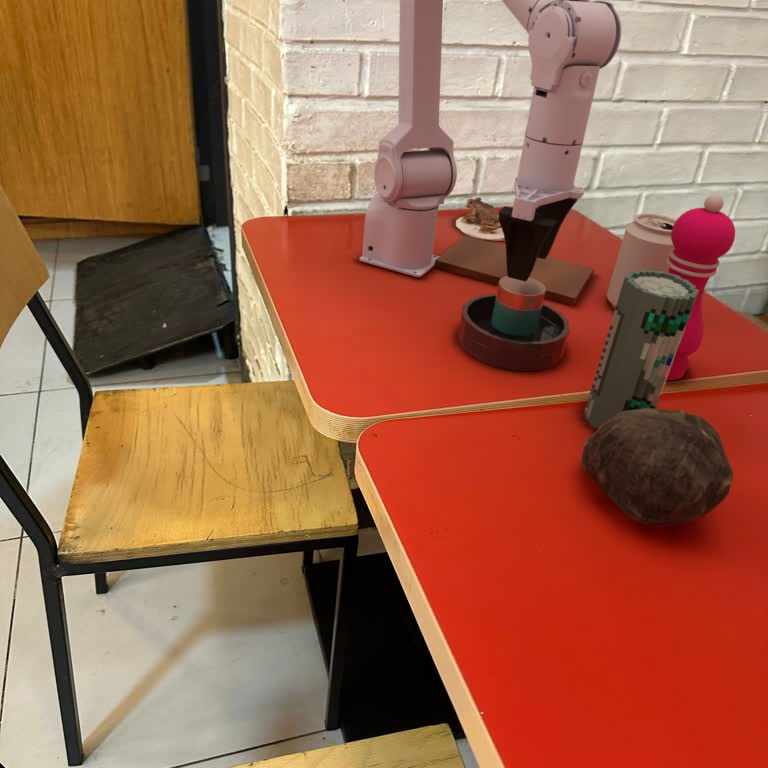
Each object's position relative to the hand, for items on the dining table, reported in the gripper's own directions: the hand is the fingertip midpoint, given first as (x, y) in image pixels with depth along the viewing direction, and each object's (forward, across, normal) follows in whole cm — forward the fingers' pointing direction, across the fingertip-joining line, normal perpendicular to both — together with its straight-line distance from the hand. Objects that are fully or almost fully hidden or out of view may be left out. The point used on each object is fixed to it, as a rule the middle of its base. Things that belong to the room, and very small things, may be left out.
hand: (527, 267), depth 76 cm
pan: (+10, 0, 0) cm, 10 cm away
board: (+9, +21, +6) cm, 24 cm away
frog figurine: (+9, +36, +15) cm, 40 cm away
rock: (+10, -20, -18) cm, 29 cm away
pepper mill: (+10, +5, -16) cm, 19 cm away
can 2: (+10, -9, -14) cm, 19 cm away
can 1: (+10, +20, -11) cm, 25 cm away
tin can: (+9, 0, 0) cm, 9 cm away
